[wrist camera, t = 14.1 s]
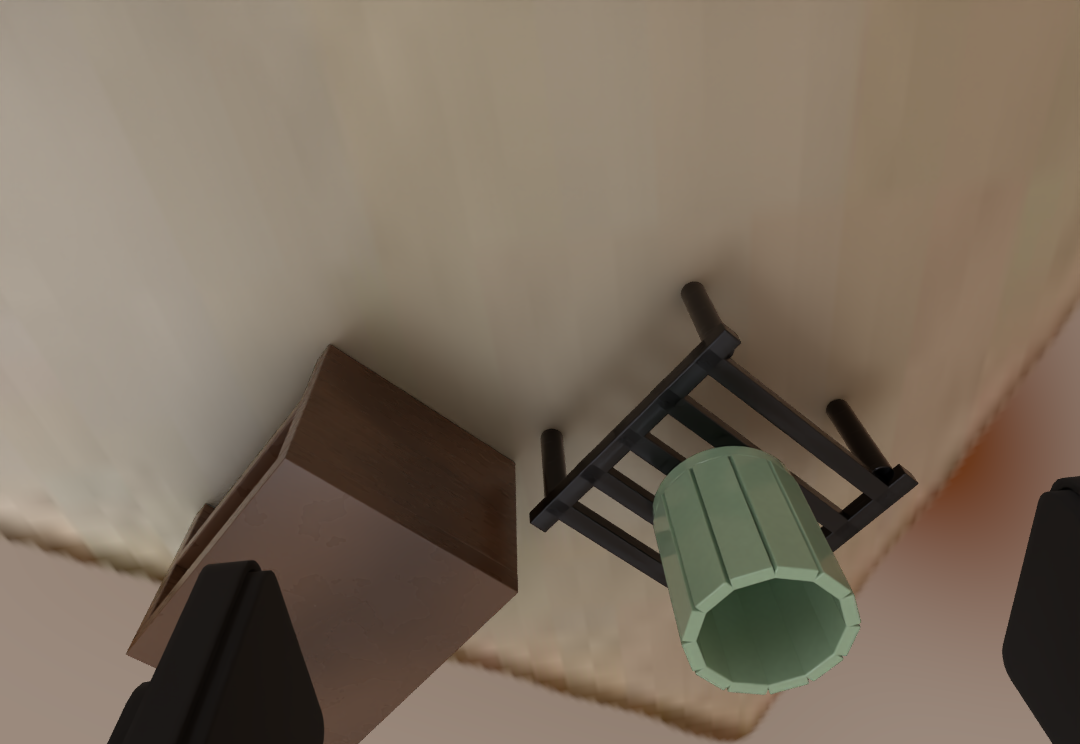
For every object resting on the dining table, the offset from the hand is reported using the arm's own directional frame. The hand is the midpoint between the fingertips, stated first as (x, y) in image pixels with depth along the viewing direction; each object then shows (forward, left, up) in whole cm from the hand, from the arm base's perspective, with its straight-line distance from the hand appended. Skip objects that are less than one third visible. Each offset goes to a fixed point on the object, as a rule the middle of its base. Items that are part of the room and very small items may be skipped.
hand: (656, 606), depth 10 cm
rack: (+17, -8, -30) cm, 36 cm away
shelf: (+5, -23, -30) cm, 38 cm away
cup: (+17, -8, -23) cm, 30 cm away
